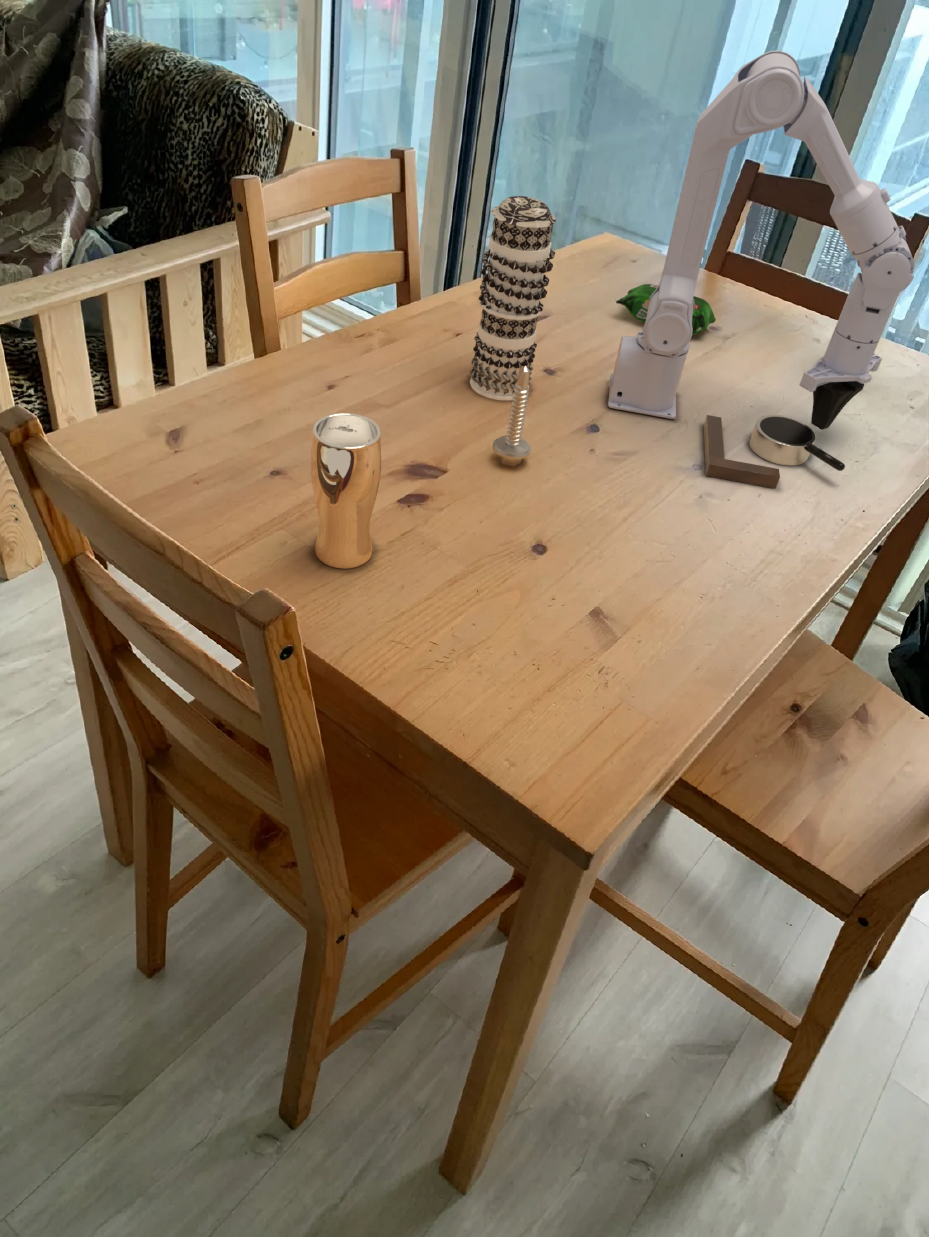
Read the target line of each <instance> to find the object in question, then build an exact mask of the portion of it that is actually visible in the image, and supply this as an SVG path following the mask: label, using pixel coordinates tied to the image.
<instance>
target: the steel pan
mask: <svg viewBox="0 0 929 1237" xmlns="http://www.w3.org/2000/svg"><path fill="white" fill-rule="evenodd" d="M816 436H817V435H816V433H815V432H814V430H813V429H812V428H811V427H810V426H808V425H807V424H805V423H803V422H802V421H799V420H797V419H795V418H792V417H788V416H784V415H777V414H776V415H775V414H774V415H773V414H772V415H770V414H769V415H765V416H761V417H760V418H759V419H757V421H756V422H755V425H754V428H753V431H752V434H751V436H750V439H749V447H750V449H751V450H752V452H753V453H755V454H756V455H757V456H758V457H759V458H761V459H763V460H765V461H767V462H770V463H773V464H776V465H779V466H780V465H781V466H789V467H790V466H792V467H793V466H794V467H795V466H799V465H803V464H804V463H806V462H807V461H808V459H809V458H810V455H812V456H814V457H816V458H817V459H819V460H820V461H822V462H824V463H825V464H826V465H828V466H829V467H831V468H833V469H835V470H836V471H838V472H842V471H843V470H845V468H846V466H845V463H844V462H842V461H841V460H839V459H838V458H836V457H834V456H833V455H831V454H829V453H828V452H826V451H825V450H823V449H821V448H820V447H818V446H816V445H815V442H816V439H817V437H816Z"/></svg>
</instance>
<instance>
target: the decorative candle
mask: <svg viewBox="0 0 929 1237" xmlns="http://www.w3.org/2000/svg"><path fill="white" fill-rule="evenodd" d="M491 214H492V216H493V220H492V231H491V233H490V235H489V240H488V249H487V251H485V252H484V253H483V257H482V258H481V262H482V268H481V270H480V274H481V275H482V280H481V284H480V286H479V289H480V295H479V296H478V301H479V305H480V307H481V309H482V310H481V319H480V321H479V323H478V329H477V332H476V335H475V336H474V342H475V345H474V346H473V349H472V351H473V352H474V355H473V357H472V359H471V362H470V363H471V366H472V367H471V368H470V375H471V377H470V380H469V385H470V387H471V389H472V391H474V392H475V393H476V394H478V395H480V396H483V397H484V398H487V399H491V400H496V401H513V399H512V398H513V397H514V395H513V393H514V392H515V391H514V388H516V386H515V384H517V381H518V375H519V368H520V367H523V366H526V367H527V368H528V369H529V370H530V375H529V381H528V387H529V388H530V384H531V380H532V376H531V375H532V373H533V372H532V371H533V370H534V366H533V365H532V364H533V362H534V359H535V358H536V354H535V352H536V348H537V347H538V343H537V342H536V337H537V333H538V332H537V331H538V330H537V323H538V319H539V318H538V317H539V316H541V315H542V312H543V311H544V307H545V306H544V304H543V303H541V301H540V300H543V299H545V298H546V297H547V294H548V291H547V289H546V288H545V287H548V286H549V283H550V278H549V277H548V276H547V275H546V274H547V273H549V272H551V271H552V269H553V267H554V264H553V263H552V262H551V261H550V260H553V259H554V258H555V255H556V251H555V250H553V249H552V242H551V240H552V234H553V228H554V225H555V223H556V221H557V218H556V217H555V215H554V214H553V213H552V212H551V210H550V208H549V207H548V205H547V204H546V202H544V201H542V200H541V199H538V198H535V197H532V196H531V197H530V196H525V195H513V196H509V197H506V198H504V199H503V200H502V201H501V203H500V204H499V205H497V206H494V207H493V208H492V210H491Z"/></svg>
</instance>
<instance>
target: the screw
mask: <svg viewBox="0 0 929 1237" xmlns="http://www.w3.org/2000/svg"><path fill="white" fill-rule="evenodd" d="M529 375H530V370H529V369H528V368H527V367H526V366H523V367H520V368H519V375H518V381H517V384H515V386H516V388H514V391H515V392H514V393H513V395H514V397H513V398H512V399H513V400H511V404H512V405H511V406H510V410H509V413H510V414H509V419H508V424H507V425H508V427H507V430H508V431H506V435H502V436H499V437H497V438H496V439H495V440H493V442H492V450H493V451H494V452H495V453H496V454H497V455H498V456H499V457H498V458H499V460H500V462H501V464H502V465H505V466H509V467H515V466H517V465H520V464H521V463H522V460H523V459H526V458H528V457H529V456H530V455H531V453H532V446H531V444H530V443H529V442H528V441H527V440H526V439H524V438H523V437H522V434H523V430H524V422H525V417H526V413H527V410H526V409H527V407H528V406H527V404H528V400H529V397H528V396H529V395H530V392H529V391H530V386H529V387H528V381H529ZM530 376H531V375H530ZM529 382H530V381H529Z"/></svg>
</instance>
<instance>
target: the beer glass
mask: <svg viewBox="0 0 929 1237" xmlns="http://www.w3.org/2000/svg"><path fill="white" fill-rule="evenodd" d="M381 436H382V431H381V428H380V426H379V424H378V423H377V422H375V421H374V420H373V419H371V418H369V417H367V416H364V415H362V414H359V413H351V412H336V413H330V414H327V415H324V416H322V417H320V418H319V419H317V420H316V421H315V423H314V424H313V427H312V441H311V452H310V475H311V476H310V478H311V485H312V491H313V496H314V500H315V505H316V510H317V516H318V524H319V525H318V533H317V537H316V541H315V546H314V551H315V555H316V558H318V560H319V561H320V562H322V563H323V564H324V565H327V566H329V567H331V568H335V569H342V570H344V569H346V570H347V569H348V570H349V569H354V568H355V569H356V568H359V567H361V566H363V565H364V564H366V563H368V561H369V560H370V559H371V557H372V555H373V545H372V538H371V533H370V531H371V530H370V529H371V526H370V525H371V519H372V515H373V511H374V507H375V503H376V501H377V500H376V499H377V496H378V492H379V487H380V482H381V472H382V443H381V440H382V439H381Z"/></svg>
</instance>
